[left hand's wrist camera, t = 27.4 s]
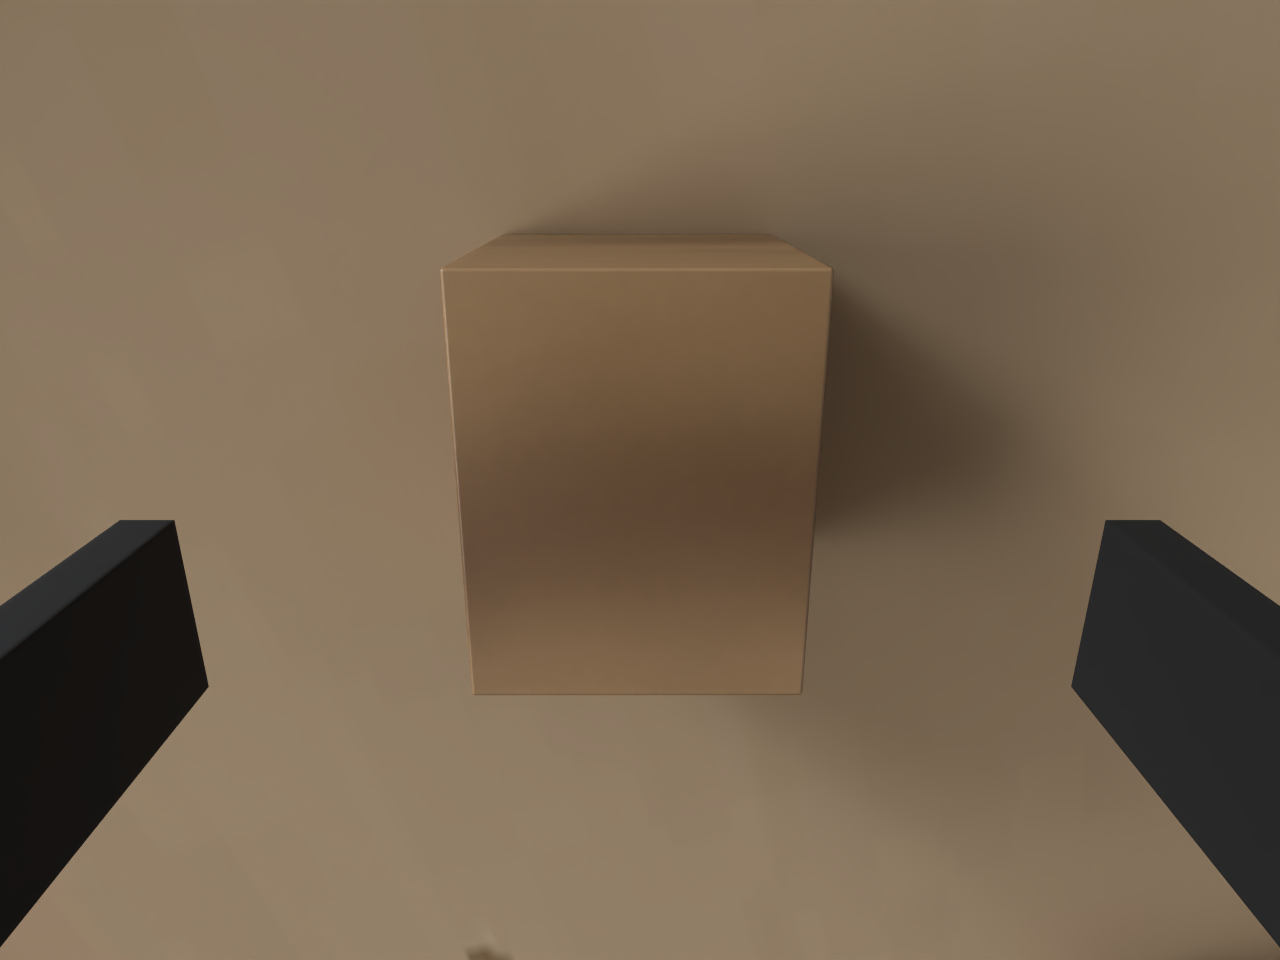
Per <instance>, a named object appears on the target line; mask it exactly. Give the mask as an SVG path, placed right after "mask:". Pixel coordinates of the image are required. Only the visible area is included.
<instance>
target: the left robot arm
mask: <svg viewBox="0 0 1280 960" xmlns="http://www.w3.org/2000/svg"><path fill="white" fill-rule="evenodd" d="M208 687H209V686H208V681H207V676H206V671H205V666H204V662H203V657H202V652H201V647H200V642H199V637H198V633H197V628H196V623H195V618H194V613H193V608H192V604H191V599H190V594H189V589H188V584H187V579H186V575H185V570H184V565H183V560H182V555H181V550H180V546H179V541H178V536H177V531H176V526H175V521H174V520H120V521H118V522H117V523H115V524H114V525H113V526H111V527H110V528H108V529H107V530H106V531H104V532H103V533H101V534H100V535H99V536H97V537H96V538H94V539H93V540H92V541H90V542H89V543H87V544H86V545H85V546H83V547H82V548H81V549H79V550H78V551H76V552H75V553H74V554H72V555H71V556H69V557H68V558H67V559H65V560H64V561H62V562H61V563H60V564H58V565H57V566H55V567H54V568H53V569H51V570H50V571H48V572H47V573H46V574H44V575H43V576H41V577H40V578H39V579H37V580H36V581H35V582H33V583H32V584H30V585H29V586H28V587H26V588H25V589H23V590H22V591H21V592H19V593H18V594H16V595H15V596H14V597H12V598H11V599H9V600H8V601H7V602H5V603H4V604H2V605H1V606H0V947H1V946H2V944H3V943H4V942H5V941H6V939H7V938H8V937H9V936H10V934H11V933H12V932H13V931H14V929H15V928H16V927H17V926H18V924H19V923H20V922H21V921H22V919H23V918H24V917H25V916H26V914H27V913H28V912H29V911H30V909H31V908H32V907H33V906H34V904H35V903H36V902H37V901H38V899H39V898H40V897H41V896H42V894H43V893H44V892H45V891H46V889H47V888H48V887H49V886H50V884H51V883H52V882H53V881H54V879H55V878H56V877H57V876H58V874H59V873H60V872H61V871H62V869H63V868H64V867H65V866H66V864H67V863H68V862H69V861H70V859H71V858H72V857H73V856H74V854H75V853H76V852H77V851H78V849H79V848H80V847H81V846H82V844H83V843H84V842H85V841H86V839H87V838H88V837H89V836H90V834H91V833H92V832H93V831H94V829H95V828H96V827H97V826H98V824H99V823H100V822H101V821H102V819H103V818H104V817H105V816H106V814H107V813H108V812H109V811H110V809H111V808H112V807H113V806H114V804H115V803H116V802H117V801H118V799H119V798H120V797H121V796H122V794H123V793H124V792H125V791H126V789H127V788H128V787H129V786H130V784H131V783H132V782H133V781H134V779H135V778H136V777H137V776H138V774H139V773H140V772H141V771H142V769H143V768H144V767H145V766H146V764H147V763H148V762H149V761H150V759H151V758H152V757H153V756H154V754H155V753H156V752H157V751H158V749H159V748H160V747H161V746H162V744H163V743H164V742H165V741H166V739H167V738H168V737H169V736H170V734H171V733H172V732H173V731H174V729H175V728H176V727H177V726H178V724H179V723H180V722H181V721H182V719H183V718H184V717H185V716H186V714H187V713H188V712H189V711H190V709H191V708H192V707H193V706H194V704H195V703H196V702H197V701H198V699H199V698H200V697H201V696H202V694H203V693H204V692H205V691H206V689H207V688H208ZM1071 687H1072V688H1073V689H1074V691H1075V692H1076V693H1077V694H1078V696H1079V697H1080V698H1081V699H1082V701H1083V702H1084V703H1085V704H1086V706H1087V707H1088V708H1089V709H1090V711H1091V712H1092V713H1093V714H1094V716H1095V717H1096V718H1097V719H1098V721H1099V722H1100V723H1101V724H1102V726H1103V727H1104V728H1105V729H1106V731H1107V732H1108V733H1109V734H1110V736H1111V737H1112V738H1113V739H1114V741H1115V742H1116V743H1117V744H1118V746H1119V747H1120V748H1121V749H1122V751H1123V752H1124V753H1125V754H1126V756H1127V757H1128V758H1129V759H1130V761H1131V762H1132V763H1133V764H1134V766H1135V767H1136V768H1137V769H1138V771H1139V772H1140V773H1141V774H1142V776H1143V777H1144V778H1145V779H1146V781H1147V782H1148V783H1149V784H1150V786H1151V787H1152V788H1153V789H1154V791H1155V792H1156V793H1157V794H1158V796H1159V797H1160V798H1161V799H1162V801H1163V802H1164V803H1165V804H1166V806H1167V807H1168V808H1169V809H1170V811H1171V812H1172V813H1173V814H1174V816H1175V817H1176V818H1177V819H1178V821H1179V822H1180V823H1181V824H1182V826H1183V827H1184V828H1185V829H1186V831H1187V832H1188V833H1189V834H1190V836H1191V837H1192V838H1193V839H1194V841H1195V842H1196V843H1197V844H1198V846H1199V847H1200V848H1201V849H1202V851H1203V852H1204V853H1205V854H1206V856H1207V857H1208V858H1209V859H1210V861H1211V862H1212V863H1213V864H1214V866H1215V867H1216V868H1217V869H1218V871H1219V872H1220V873H1221V874H1222V876H1223V877H1224V878H1225V879H1226V881H1227V882H1228V883H1229V884H1230V886H1231V887H1232V888H1233V889H1234V891H1235V892H1236V893H1237V894H1238V896H1239V897H1240V898H1241V899H1242V901H1243V902H1244V903H1245V904H1246V906H1247V907H1248V908H1249V909H1250V911H1251V912H1252V913H1253V914H1254V916H1255V917H1256V918H1257V919H1258V921H1259V922H1260V923H1261V924H1262V926H1263V927H1264V928H1265V929H1266V931H1267V932H1268V933H1269V934H1270V936H1271V937H1272V938H1273V939H1274V941H1275V942H1276V943H1277V944H1278V946H1279V947H1280V606H1279V605H1278V604H1276V603H1275V602H1273V601H1272V600H1271V599H1269V598H1268V597H1266V596H1265V595H1264V594H1262V593H1261V592H1259V591H1258V590H1257V589H1255V588H1254V587H1252V586H1251V585H1250V584H1248V583H1247V582H1245V581H1244V580H1243V579H1241V578H1240V577H1239V576H1237V575H1236V574H1234V573H1233V572H1232V571H1230V570H1229V569H1227V568H1226V567H1225V566H1223V565H1222V564H1220V563H1219V562H1218V561H1216V560H1215V559H1213V558H1212V557H1211V556H1209V555H1208V554H1206V553H1205V552H1204V551H1202V550H1201V549H1199V548H1198V547H1197V546H1195V545H1194V544H1193V543H1191V542H1190V541H1188V540H1187V539H1186V538H1184V537H1183V536H1181V535H1180V534H1179V533H1177V532H1176V531H1174V530H1173V529H1172V528H1170V527H1169V526H1167V525H1166V524H1165V523H1163V522H1162V521H1160V520H1106V521H1105V526H1104V531H1103V536H1102V541H1101V546H1100V550H1099V555H1098V560H1097V565H1096V570H1095V575H1094V579H1093V584H1092V589H1091V594H1090V599H1089V604H1088V608H1087V613H1086V618H1085V623H1084V628H1083V633H1082V637H1081V642H1080V647H1079V652H1078V657H1077V662H1076V666H1075V671H1074V676H1073V681H1072V686H1071Z"/></svg>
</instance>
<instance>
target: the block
mask: <svg viewBox="0 0 1280 960" xmlns="http://www.w3.org/2000/svg"><path fill="white" fill-rule="evenodd" d="M833 275H834V271H833V269H832V268H831V267H829V266H827V265H825V264H823V263H821V262H820V261H818V260H816V259H814V258H812V257H811V256H809V255H807V254H805V253H803V252H802V251H800V250H798V249H796V248H794V247H793V246H791V245H789V244H787V243H785V242H784V241H782V240H780V239H778V238H776V237H775V236H773V235H502V236H500V237H498V238H496V239H494V240H492V241H491V242H489V243H487V244H485V245H483V246H482V247H480V248H478V249H476V250H474V251H472V252H471V253H469V254H467V255H465V256H463V257H461V258H460V259H458V260H456V261H454V262H452V263H450V264H449V265H447V266H445V267H443V268H441V270H440V278H441V291H442V305H443V318H444V331H445V344H446V357H447V370H448V383H449V396H450V409H451V422H452V435H453V448H454V461H455V474H456V487H457V500H458V513H459V527H460V540H461V553H462V566H463V579H464V592H465V605H466V618H467V631H468V644H469V657H470V670H471V683H472V692H473V694H474V695H800V694H801V693H802V689H803V675H804V662H805V649H806V635H807V622H808V609H809V595H810V582H811V569H812V555H813V542H814V529H815V515H816V502H817V488H818V475H819V462H820V448H821V435H822V422H823V408H824V395H825V382H826V368H827V355H828V342H829V328H830V315H831V302H832V288H833Z"/></svg>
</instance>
